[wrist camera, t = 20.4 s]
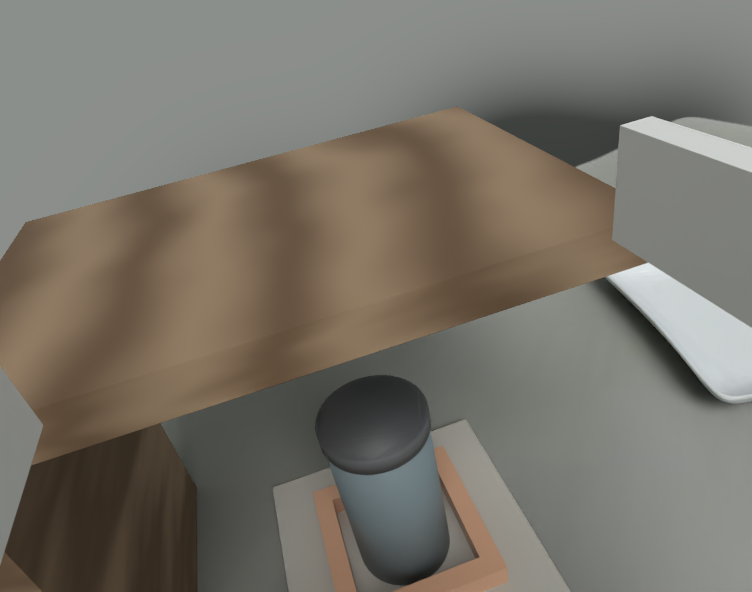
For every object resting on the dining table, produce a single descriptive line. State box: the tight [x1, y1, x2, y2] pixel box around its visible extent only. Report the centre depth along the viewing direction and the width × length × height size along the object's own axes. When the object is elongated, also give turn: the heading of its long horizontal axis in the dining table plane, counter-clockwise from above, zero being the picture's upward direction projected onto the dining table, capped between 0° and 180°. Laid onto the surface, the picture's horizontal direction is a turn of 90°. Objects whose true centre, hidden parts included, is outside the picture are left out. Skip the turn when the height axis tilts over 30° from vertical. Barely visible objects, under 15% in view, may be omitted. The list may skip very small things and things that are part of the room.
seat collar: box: [273, 419, 571, 592], centre depth 36 cm, size 16×16×2 cm
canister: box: [315, 375, 450, 586], centre depth 33 cm, size 6×6×12 cm
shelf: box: [0, 107, 648, 592], centre depth 31 cm, size 27×18×24 cm, turn 106°
